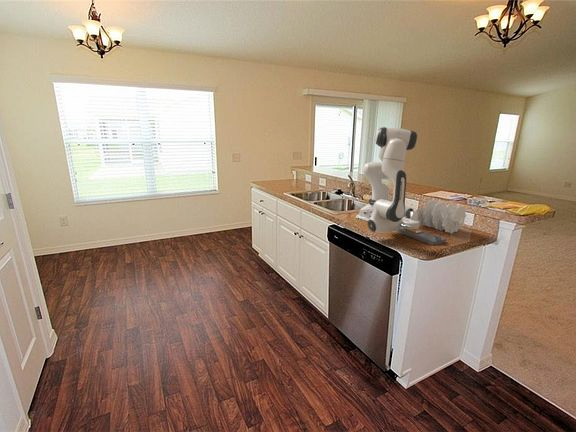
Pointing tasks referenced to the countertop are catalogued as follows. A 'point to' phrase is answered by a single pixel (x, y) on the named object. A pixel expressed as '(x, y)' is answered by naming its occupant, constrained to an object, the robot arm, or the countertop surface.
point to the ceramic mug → (408, 212)
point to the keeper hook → (437, 237)
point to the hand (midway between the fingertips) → (412, 219)
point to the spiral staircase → (442, 216)
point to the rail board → (422, 236)
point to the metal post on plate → (414, 217)
